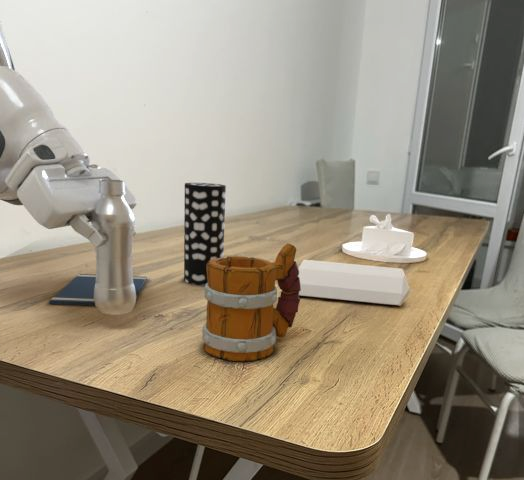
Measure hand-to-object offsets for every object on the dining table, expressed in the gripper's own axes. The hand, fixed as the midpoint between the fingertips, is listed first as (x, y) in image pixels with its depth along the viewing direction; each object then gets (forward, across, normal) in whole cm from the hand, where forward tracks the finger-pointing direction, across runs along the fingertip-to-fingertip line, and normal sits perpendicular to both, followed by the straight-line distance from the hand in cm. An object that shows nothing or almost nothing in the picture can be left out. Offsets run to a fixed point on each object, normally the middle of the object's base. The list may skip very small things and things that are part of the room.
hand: (117, 240), depth 77 cm
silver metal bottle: (+8, 0, -9) cm, 12 cm away
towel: (0, -16, -20) cm, 25 cm away
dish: (+31, -92, +13) cm, 98 cm away
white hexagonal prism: (+31, -36, +12) cm, 49 cm away
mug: (+25, -2, +6) cm, 26 cm away
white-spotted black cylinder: (+9, -33, -10) cm, 36 cm away
